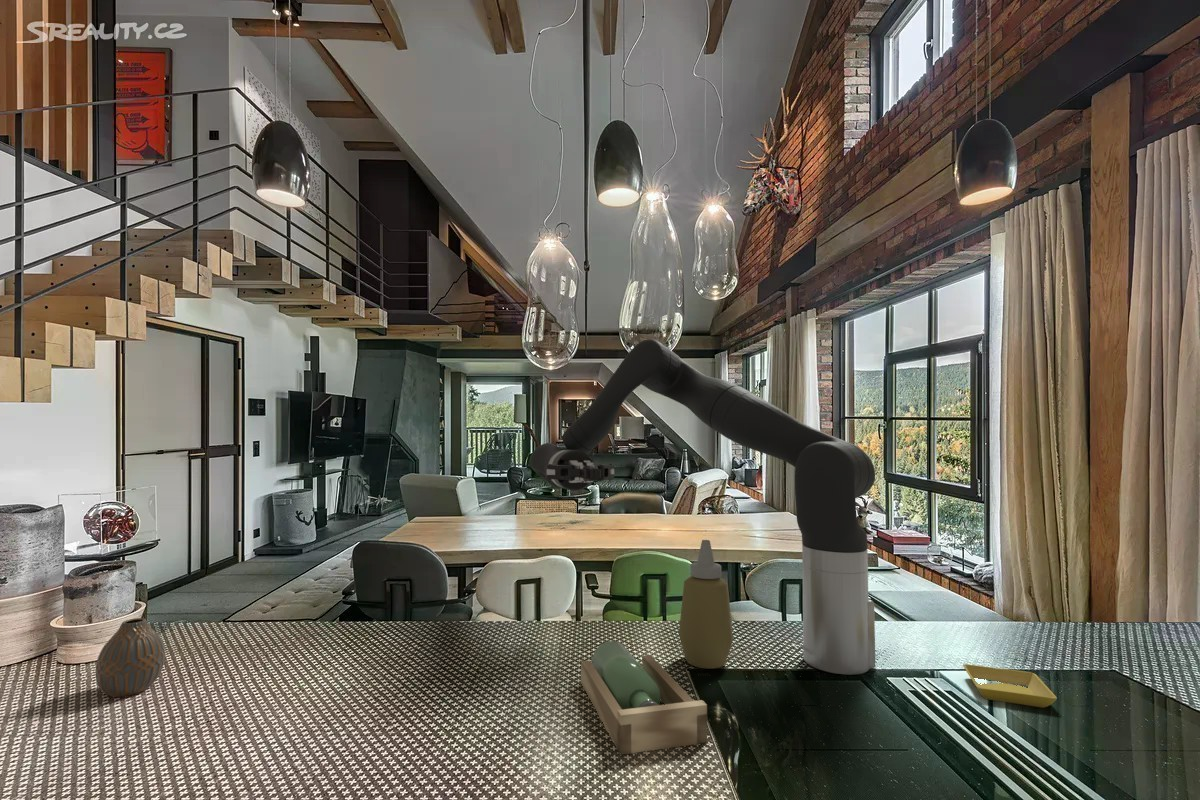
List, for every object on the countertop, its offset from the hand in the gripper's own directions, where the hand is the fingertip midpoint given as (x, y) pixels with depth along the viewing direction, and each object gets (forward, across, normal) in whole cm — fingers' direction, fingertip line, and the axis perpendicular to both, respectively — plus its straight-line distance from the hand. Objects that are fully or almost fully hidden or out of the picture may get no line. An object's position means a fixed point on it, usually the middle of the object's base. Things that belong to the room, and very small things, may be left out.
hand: (594, 474), depth 92 cm
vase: (0, -62, +27) cm, 68 cm away
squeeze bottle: (+10, +15, +28) cm, 33 cm away
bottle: (+12, -1, +25) cm, 28 cm away
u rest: (+21, 0, +28) cm, 35 cm away
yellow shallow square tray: (+29, +50, +28) cm, 64 cm away
